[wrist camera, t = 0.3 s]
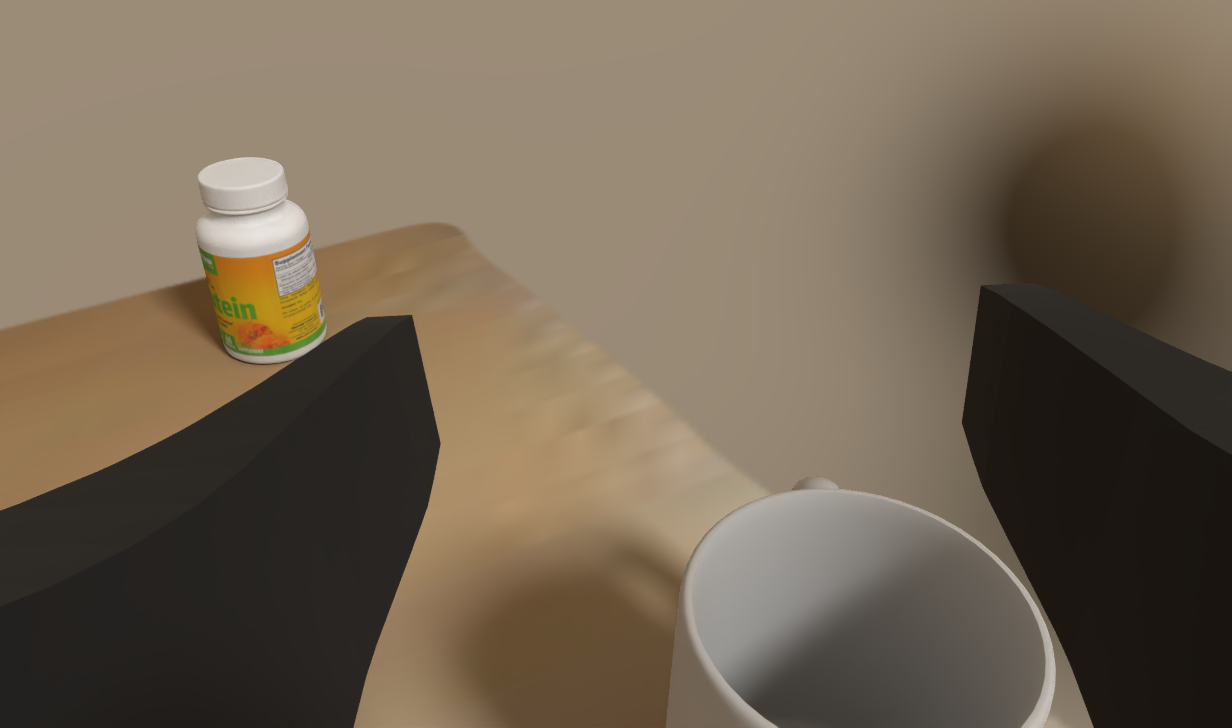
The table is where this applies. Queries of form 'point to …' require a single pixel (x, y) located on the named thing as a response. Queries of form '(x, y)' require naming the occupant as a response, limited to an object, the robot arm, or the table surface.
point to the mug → (853, 622)
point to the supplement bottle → (259, 262)
